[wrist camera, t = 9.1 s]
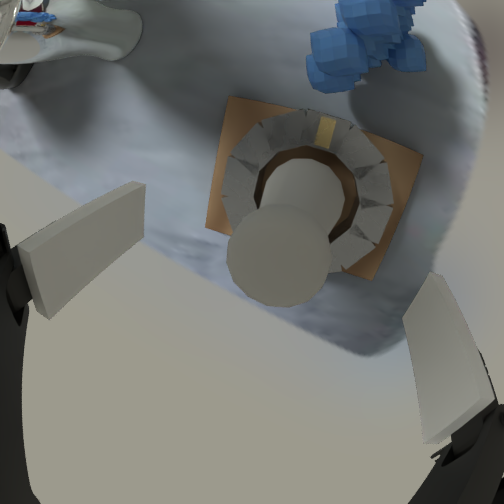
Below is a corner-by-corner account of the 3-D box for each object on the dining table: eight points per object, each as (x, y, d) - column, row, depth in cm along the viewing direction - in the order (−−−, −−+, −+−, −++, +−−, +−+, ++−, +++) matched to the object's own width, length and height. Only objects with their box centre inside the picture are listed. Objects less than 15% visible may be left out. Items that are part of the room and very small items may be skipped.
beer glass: (137, -4, 17) (23, -35, 4) (154, 40, 19) (22, 17, 6) (92, 32, 20) (-20, 29, 7) (105, 76, 22) (-19, 86, 9)
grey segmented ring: (222, 235, 26) (208, 250, 23) (250, 96, 19) (238, 93, 17) (353, 277, 24) (355, 297, 21) (405, 143, 18) (417, 147, 15)
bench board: (209, 222, 27) (205, 227, 26) (233, 96, 21) (228, 95, 20) (370, 274, 25) (371, 280, 24) (419, 153, 19) (423, 155, 18)
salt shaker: (257, 185, 23) (175, 254, 12) (310, 139, 20) (275, 160, 9) (303, 237, 24) (267, 348, 12) (358, 197, 21) (378, 288, 10)
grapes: (362, 131, 20) (398, 145, 9) (293, 81, 19) (257, 45, 9) (435, 39, 14) (506, -4, 3) (369, -10, 13) (390, -88, 3)
